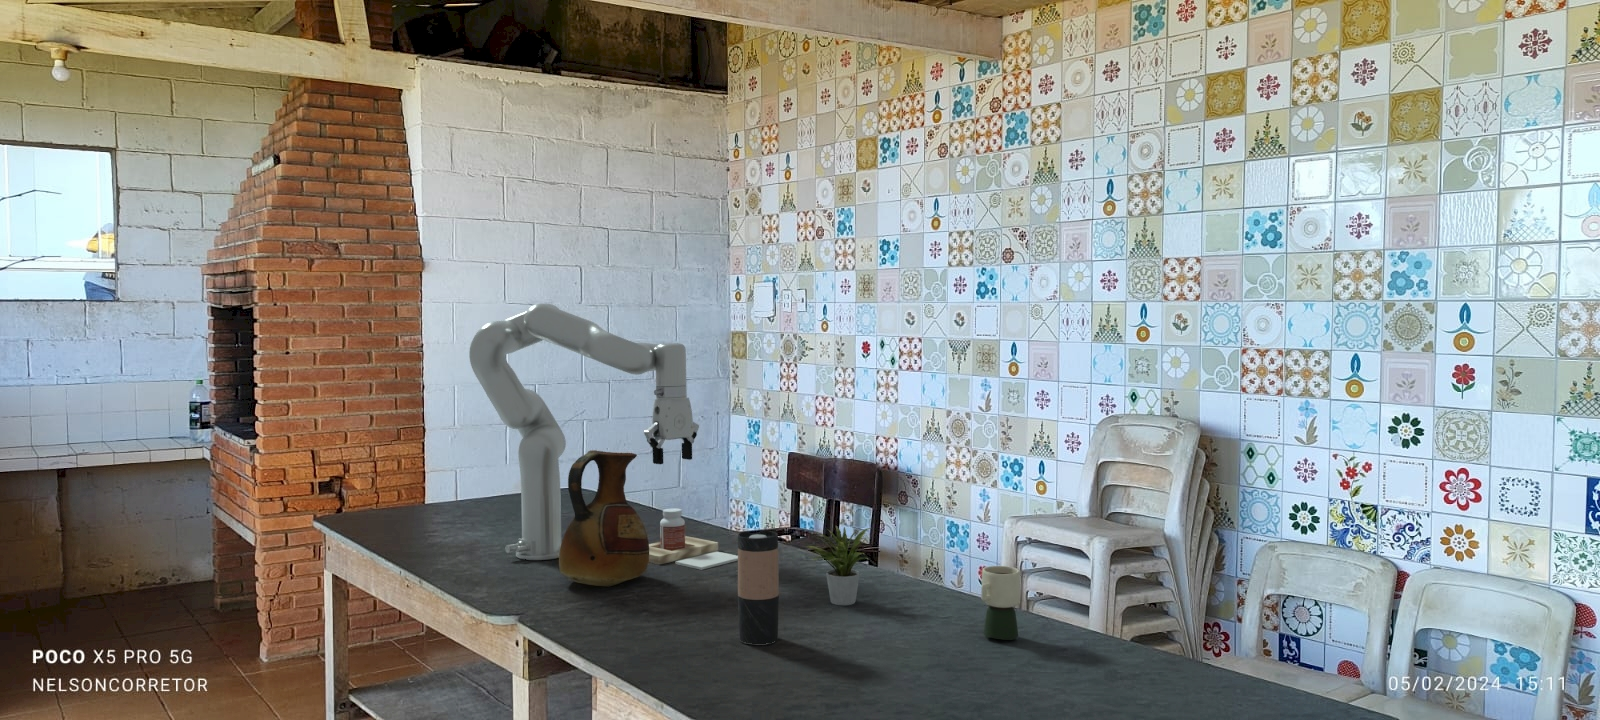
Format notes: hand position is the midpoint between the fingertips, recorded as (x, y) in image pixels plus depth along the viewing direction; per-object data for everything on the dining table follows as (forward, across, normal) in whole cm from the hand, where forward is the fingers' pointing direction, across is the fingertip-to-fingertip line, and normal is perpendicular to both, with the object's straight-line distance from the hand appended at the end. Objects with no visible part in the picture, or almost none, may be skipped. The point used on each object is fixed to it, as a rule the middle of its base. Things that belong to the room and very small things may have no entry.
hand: (672, 461), depth 281 cm
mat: (+23, 0, -13) cm, 27 cm away
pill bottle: (+24, 0, 0) cm, 24 cm away
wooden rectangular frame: (+23, 0, 0) cm, 23 cm away
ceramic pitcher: (+23, -29, -9) cm, 38 cm away
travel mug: (+24, -38, -65) cm, 79 cm away
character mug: (+24, -8, -99) cm, 102 cm away
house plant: (+24, -6, -60) cm, 65 cm away
